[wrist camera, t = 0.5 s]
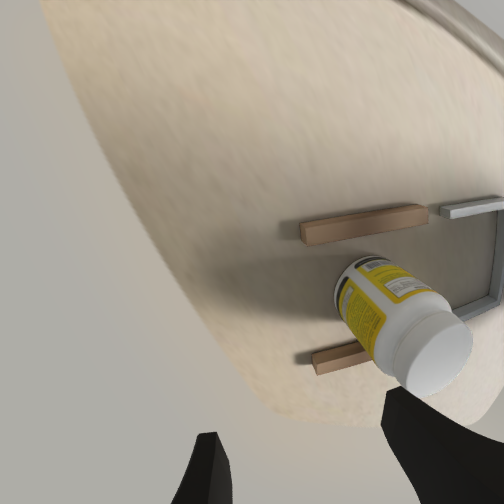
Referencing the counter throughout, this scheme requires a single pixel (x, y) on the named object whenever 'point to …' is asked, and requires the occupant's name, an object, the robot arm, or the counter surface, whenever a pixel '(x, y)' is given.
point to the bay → (500, 274)
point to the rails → (349, 229)
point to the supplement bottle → (403, 325)
